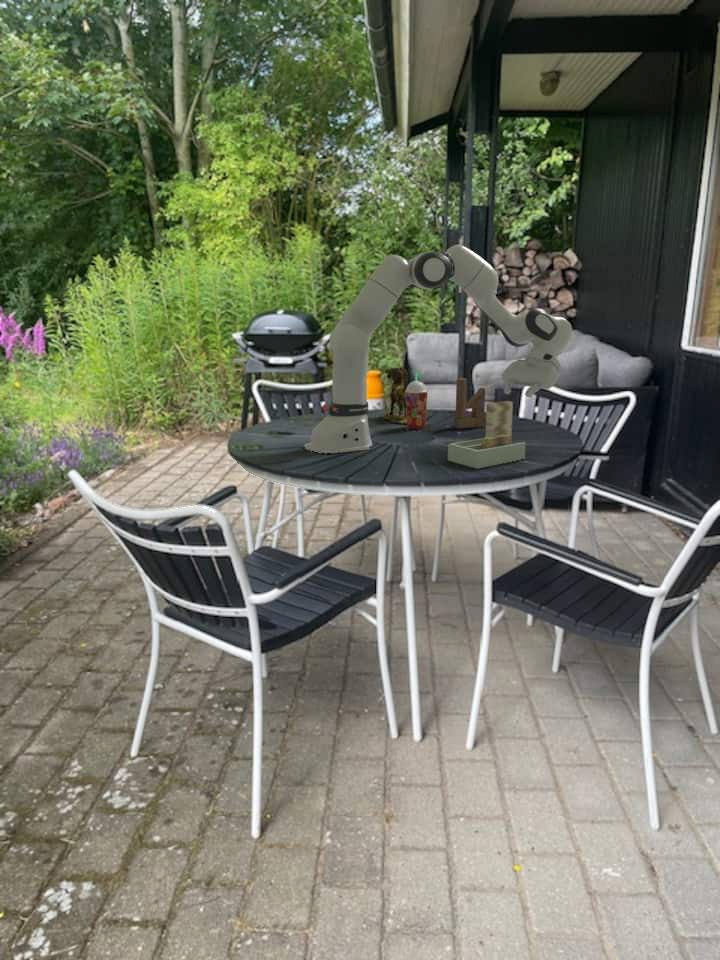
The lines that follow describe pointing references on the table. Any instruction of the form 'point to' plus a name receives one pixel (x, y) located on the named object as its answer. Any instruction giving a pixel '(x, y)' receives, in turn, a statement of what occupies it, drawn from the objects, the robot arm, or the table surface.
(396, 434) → the table surface
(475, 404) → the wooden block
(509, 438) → the offcut stack
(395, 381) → the figurine
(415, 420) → the smoothie
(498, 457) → the rack
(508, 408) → the beige brown rectangular slab
